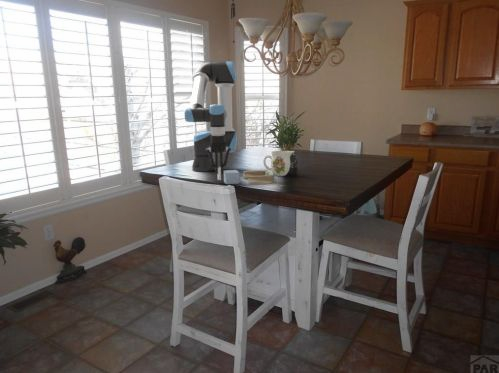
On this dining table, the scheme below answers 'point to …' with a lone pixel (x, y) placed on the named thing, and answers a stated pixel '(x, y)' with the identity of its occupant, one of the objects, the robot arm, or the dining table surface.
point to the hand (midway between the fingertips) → (219, 179)
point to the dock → (258, 177)
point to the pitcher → (279, 162)
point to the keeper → (231, 177)
